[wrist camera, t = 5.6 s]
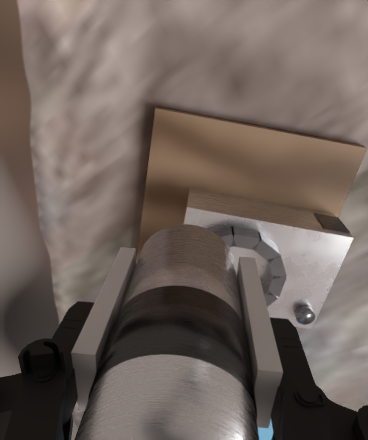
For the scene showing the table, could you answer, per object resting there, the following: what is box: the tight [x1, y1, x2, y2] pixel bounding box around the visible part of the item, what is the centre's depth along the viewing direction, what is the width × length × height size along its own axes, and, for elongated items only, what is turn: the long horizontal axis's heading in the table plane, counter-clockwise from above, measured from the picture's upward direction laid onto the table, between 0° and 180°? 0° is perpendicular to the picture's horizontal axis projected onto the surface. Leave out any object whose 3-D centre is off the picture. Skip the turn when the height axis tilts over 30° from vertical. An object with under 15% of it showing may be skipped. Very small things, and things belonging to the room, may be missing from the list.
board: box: [136, 107, 367, 264], centre depth 35 cm, size 19×20×1 cm
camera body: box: [183, 188, 353, 329], centre depth 33 cm, size 11×15×6 cm
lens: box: [75, 224, 259, 440], centre depth 13 cm, size 5×5×10 cm
